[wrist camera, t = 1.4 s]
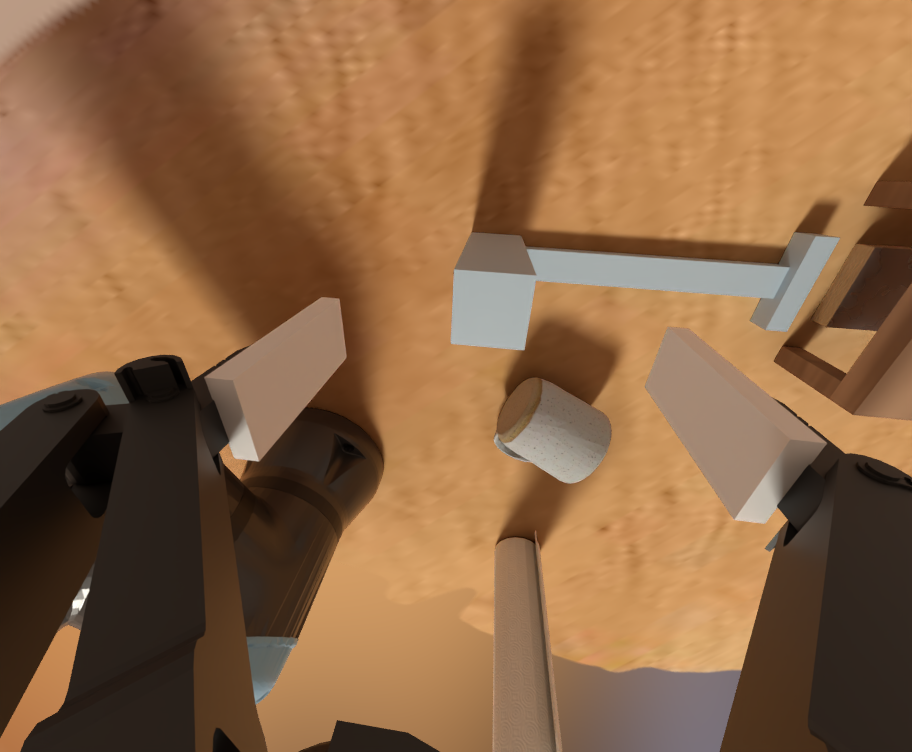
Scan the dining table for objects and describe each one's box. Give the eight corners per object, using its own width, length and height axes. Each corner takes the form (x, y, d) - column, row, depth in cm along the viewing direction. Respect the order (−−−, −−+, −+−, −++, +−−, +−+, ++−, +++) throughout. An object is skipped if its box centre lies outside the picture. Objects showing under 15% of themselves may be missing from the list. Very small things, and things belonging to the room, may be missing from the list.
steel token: (806, 318, 29) (826, 326, 27) (850, 242, 26) (875, 247, 24) (883, 323, 29) (908, 333, 27) (937, 248, 26) (968, 253, 24)
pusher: (467, 298, 31) (449, 367, 20) (472, 211, 27) (455, 236, 16) (769, 322, 29) (938, 413, 18) (817, 233, 26) (1063, 278, 14)
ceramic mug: (533, 358, 33) (540, 405, 27) (601, 397, 35) (624, 451, 28) (476, 429, 38) (471, 483, 32) (537, 461, 40) (544, 519, 33)
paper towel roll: (506, 566, 50) (511, 794, 32) (486, 541, 48) (479, 772, 29) (554, 555, 48) (589, 794, 29) (535, 528, 45) (561, 770, 27)
